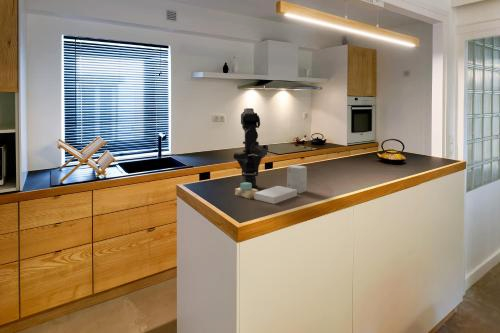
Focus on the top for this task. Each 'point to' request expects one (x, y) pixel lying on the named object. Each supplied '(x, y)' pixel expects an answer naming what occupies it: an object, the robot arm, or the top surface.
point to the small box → (297, 178)
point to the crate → (245, 186)
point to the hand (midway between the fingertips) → (250, 171)
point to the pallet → (245, 193)
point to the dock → (275, 194)
